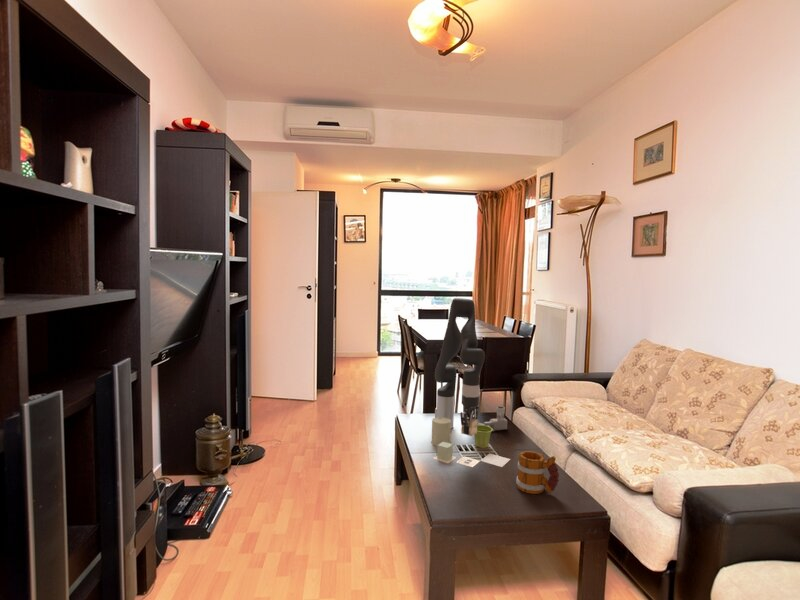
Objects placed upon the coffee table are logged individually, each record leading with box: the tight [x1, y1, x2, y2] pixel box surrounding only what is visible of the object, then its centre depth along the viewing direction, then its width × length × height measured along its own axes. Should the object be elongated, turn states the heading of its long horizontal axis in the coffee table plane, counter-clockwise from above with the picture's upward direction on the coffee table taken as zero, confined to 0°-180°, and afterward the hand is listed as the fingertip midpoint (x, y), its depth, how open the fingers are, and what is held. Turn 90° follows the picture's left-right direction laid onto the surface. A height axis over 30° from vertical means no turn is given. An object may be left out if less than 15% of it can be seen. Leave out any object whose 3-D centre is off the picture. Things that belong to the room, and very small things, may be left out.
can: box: [430, 417, 451, 447], centre depth 215 cm, size 9×9×12 cm
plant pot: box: [473, 424, 493, 449], centre depth 214 cm, size 9×9×9 cm
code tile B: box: [432, 455, 457, 464], centre depth 198 cm, size 8×8×1 cm
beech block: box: [460, 417, 478, 437], centre depth 194 cm, size 5×5×6 cm
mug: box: [515, 450, 560, 495], centre depth 172 cm, size 11×16×15 cm, turn 51°
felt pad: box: [480, 453, 511, 468], centre depth 198 cm, size 10×10×1 cm
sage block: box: [436, 442, 454, 461], centre depth 198 cm, size 5×5×6 cm
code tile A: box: [455, 456, 481, 468], centre depth 195 cm, size 8×8×1 cm
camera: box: [477, 405, 508, 432], centre depth 237 cm, size 9×12×15 cm
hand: (469, 431), depth 194 cm, fingers closed on beech block, 5 cm apart
